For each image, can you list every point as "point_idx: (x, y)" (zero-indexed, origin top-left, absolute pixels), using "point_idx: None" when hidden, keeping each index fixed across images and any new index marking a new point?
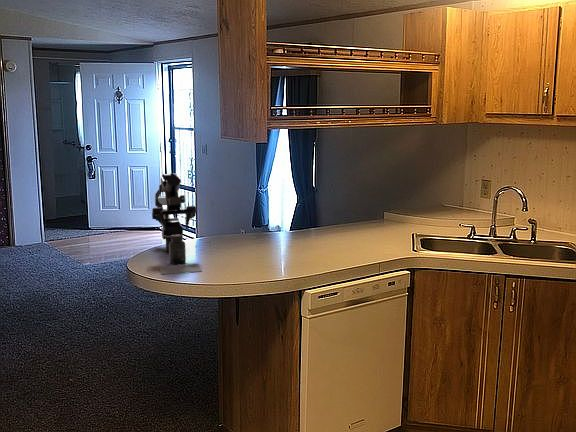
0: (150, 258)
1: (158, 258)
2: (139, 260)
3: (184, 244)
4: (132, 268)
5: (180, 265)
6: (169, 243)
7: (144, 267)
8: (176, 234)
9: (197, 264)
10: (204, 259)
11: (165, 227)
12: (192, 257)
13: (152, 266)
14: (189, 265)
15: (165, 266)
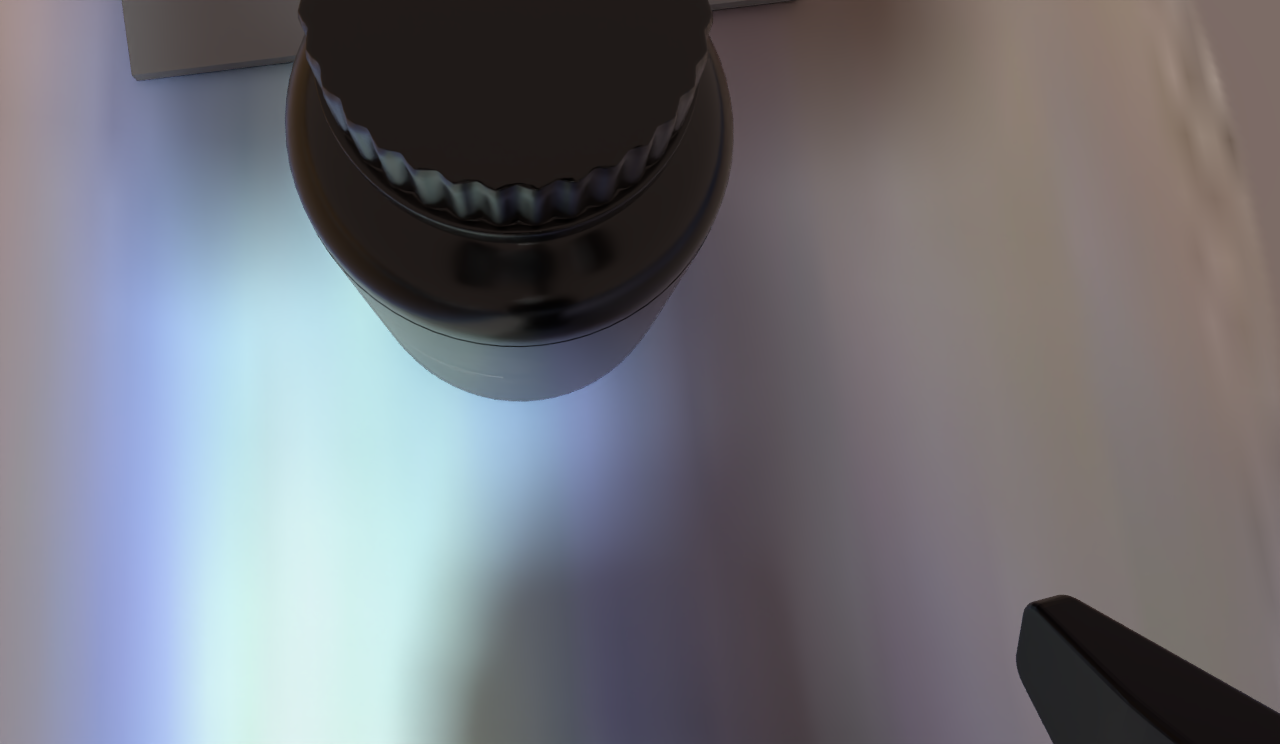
0: None
1: (900, 642)
2: (1196, 517)
3: (304, 36)
4: (1191, 14)
5: None
6: (721, 78)
7: (1028, 47)
8: (536, 151)
9: (148, 63)
10: (3, 492)
11: (1101, 645)
12: (253, 681)
13: (916, 91)
14: (296, 11)
15: None
